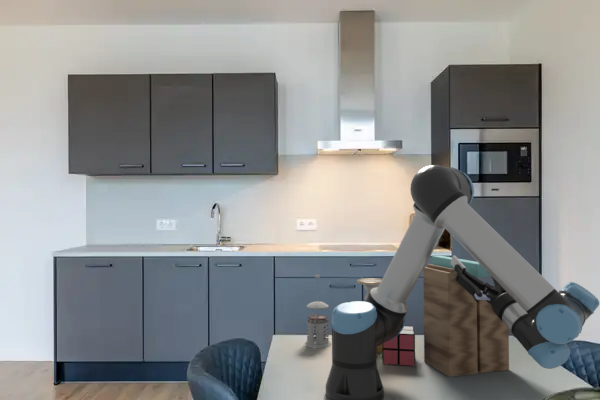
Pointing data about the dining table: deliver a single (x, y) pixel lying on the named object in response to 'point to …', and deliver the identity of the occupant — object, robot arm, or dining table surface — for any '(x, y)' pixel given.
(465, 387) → the dining table surface
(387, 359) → the puzzle cube
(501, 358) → the brown boxy piece
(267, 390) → the dining table surface
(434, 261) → the bar
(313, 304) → the french press
